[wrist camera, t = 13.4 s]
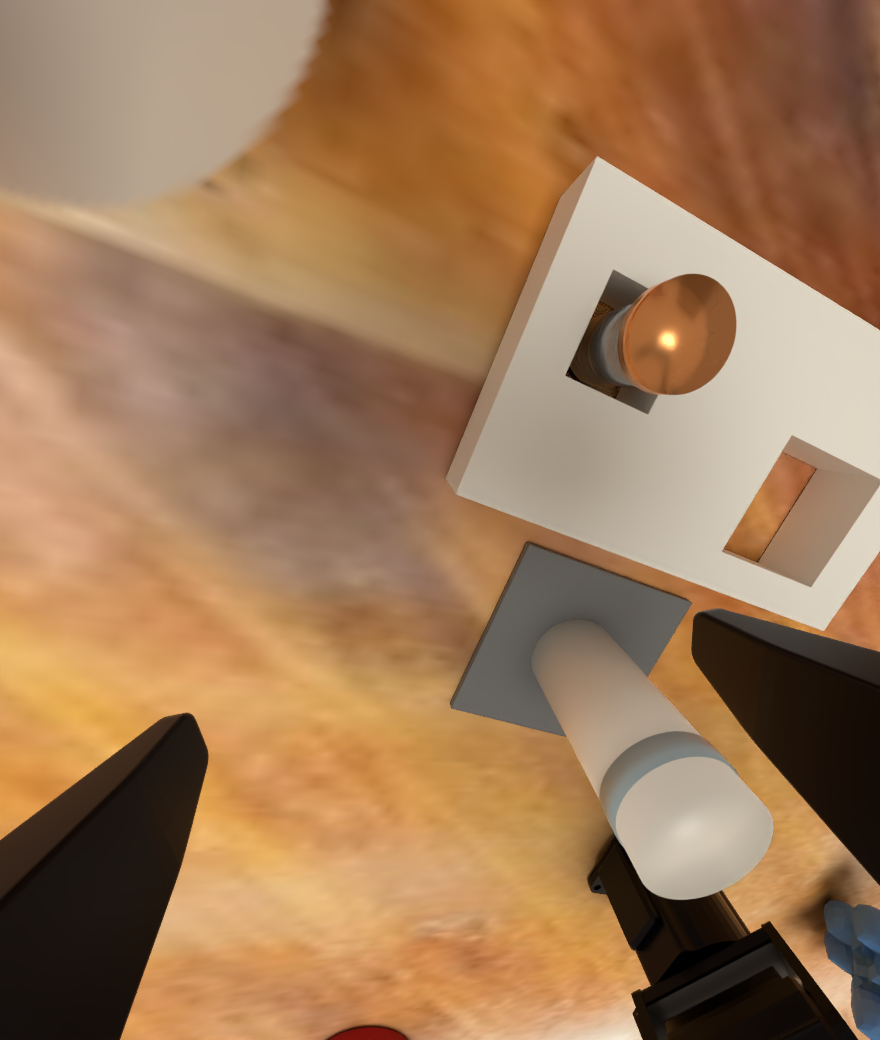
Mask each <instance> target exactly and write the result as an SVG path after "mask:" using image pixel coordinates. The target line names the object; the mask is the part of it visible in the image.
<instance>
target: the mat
mask: <svg viewBox="0 0 880 1040" xmlns="http://www.w3.org/2000/svg"><path fill="white" fill-rule="evenodd" d="M691 604H692V602H690V601H689V600H687V599H685V598H682V597H679V596H676V595H673V594H671V593H668V592H665V591H662V590H660V589H657V588H654V587H651V586H648V585H646V584H643V583H640V582H637V581H634V580H632V579H629V578H626V577H623V576H620V575H618V574H615V573H612V572H609V571H607V570H604V569H601V568H598V567H595V566H593V565H590V564H587V563H584V562H581V561H579V560H576V559H573V558H570V557H568V556H565V555H562V554H559V553H556V552H554V551H551V550H548V549H545V548H542V547H540V546H537V545H534V544H531V543H529V542H527V543H526V545H525V547H524V549H523V551H522V553H521V555H520V557H519V560H518V562H517V564H516V566H515V568H514V570H513V572H512V574H511V576H510V578H509V581H508V583H507V585H506V587H505V589H504V591H503V593H502V595H501V597H500V599H499V602H498V604H497V606H496V608H495V610H494V612H493V614H492V616H491V618H490V620H489V623H488V625H487V627H486V629H485V631H484V633H483V635H482V637H481V639H480V641H479V644H478V646H477V648H476V650H475V652H474V654H473V656H472V658H471V660H470V662H469V665H468V667H467V669H466V671H465V673H464V675H463V677H462V679H461V681H460V683H459V686H458V688H457V690H456V692H455V694H454V696H453V698H452V700H451V702H450V705H451V708H452V709H456V710H460V711H464V712H468V713H472V714H476V715H480V716H484V717H488V718H492V719H496V720H500V721H504V722H508V723H512V724H516V725H520V726H524V727H528V728H533V729H537V730H541V731H545V732H549V733H553V734H557V735H561V736H565V737H566V735H565V733H564V731H563V729H562V727H561V725H560V723H559V721H558V719H557V717H556V716H555V714H554V712H553V710H552V708H551V706H550V704H549V702H548V700H547V698H546V696H545V694H544V692H543V690H542V689H541V687H540V685H539V683H538V681H537V679H536V677H535V675H534V673H533V670H532V665H531V658H532V653H533V650H534V647H535V645H536V643H537V641H538V640H539V639H540V637H541V636H542V635H543V634H544V633H545V632H546V631H547V630H549V629H550V628H552V627H553V626H555V625H557V624H559V623H561V622H564V621H567V620H573V619H585V620H589V621H592V622H595V623H597V624H598V625H600V626H601V627H602V628H603V629H604V630H605V631H606V632H607V633H608V634H609V635H610V636H611V637H612V639H613V640H614V641H615V642H616V643H617V644H618V645H619V646H620V647H621V648H622V649H623V651H624V652H625V653H626V654H627V655H628V656H629V657H630V658H631V659H632V660H633V662H634V663H635V664H636V665H637V666H638V667H639V668H640V669H641V670H642V671H643V672H644V674H645V675H646V676H647V677H648V675H649V674H650V672H651V670H652V669H653V667H654V665H655V664H656V662H657V660H658V659H659V657H660V655H661V654H662V652H663V650H664V649H665V647H666V645H667V644H668V642H669V640H670V639H671V637H672V635H673V634H674V632H675V631H676V629H677V627H678V626H679V624H680V622H681V621H682V619H683V617H684V616H685V614H686V612H687V611H688V609H689V607H690V606H691Z"/></svg>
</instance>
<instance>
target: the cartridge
mask: <svg viewBox="0 0 880 1040" xmlns="http://www.w3.org/2000/svg"><path fill="white" fill-rule="evenodd" d="M531 665H532V670H533V673H534V675H535V677H536V679H537V681H538V683H539V685H540V687H541V689H542V690H543V692H544V694H545V696H546V698H547V700H548V702H549V704H550V706H551V708H552V710H553V712H554V714H555V716H556V717H557V719H558V721H559V723H560V725H561V727H562V729H563V731H564V733H565V735H566V737H567V739H568V741H569V742H570V744H571V746H572V748H573V750H574V752H575V754H576V756H577V758H578V760H579V762H580V764H581V766H582V768H583V769H584V771H585V773H586V775H587V777H588V779H589V781H590V783H591V785H592V787H593V789H594V791H595V793H596V794H597V796H598V798H599V800H600V805H601V808H602V810H603V812H604V814H605V816H606V818H607V820H608V822H609V824H610V826H611V828H612V830H613V832H614V834H615V836H616V837H617V839H618V841H619V843H620V844H621V845H622V846H623V847H624V848H625V850H626V852H627V854H628V856H629V858H630V860H631V862H632V864H633V866H634V868H635V870H636V872H637V873H638V875H639V877H640V879H641V881H642V883H643V884H644V885H645V887H646V888H647V889H648V890H650V891H651V892H652V893H654V894H656V895H658V896H661V897H664V898H668V899H675V900H688V899H696V898H700V897H705V896H708V895H711V894H714V893H716V892H719V891H721V890H723V889H725V888H727V887H729V886H731V885H733V884H734V883H736V882H737V881H739V880H740V879H742V878H743V877H744V876H745V875H747V874H748V873H749V872H750V871H751V870H752V869H753V868H754V867H755V866H756V865H757V864H758V863H759V861H760V860H761V859H762V858H763V856H764V855H765V853H766V851H767V849H768V847H769V845H770V843H771V840H772V836H773V827H774V825H773V819H772V816H771V813H770V812H769V810H768V808H767V807H766V806H765V805H764V804H763V803H762V802H761V801H760V799H759V798H758V797H757V796H756V795H755V794H754V793H753V792H752V791H751V790H750V789H749V787H748V786H747V785H746V784H745V783H744V782H743V781H742V780H741V779H740V777H739V775H738V773H737V772H736V770H735V769H734V768H733V767H732V766H731V765H730V764H729V762H728V761H727V760H726V759H725V758H724V757H723V756H722V755H721V754H720V753H719V752H718V751H717V749H716V748H715V747H714V746H713V745H712V744H711V743H710V742H709V741H708V740H706V739H705V738H703V737H702V736H701V735H700V734H699V733H698V732H697V730H696V729H695V728H694V727H693V726H692V725H691V724H690V723H689V722H688V721H687V720H686V718H685V717H684V716H683V715H682V714H681V713H680V712H679V711H678V710H677V709H676V708H675V706H674V705H673V704H672V703H671V702H670V701H669V700H668V699H667V698H666V697H665V695H664V694H663V693H662V692H661V691H660V690H659V689H658V688H657V687H656V686H655V685H654V683H653V682H652V681H651V680H650V679H649V678H648V677H647V676H646V675H645V674H644V672H643V671H642V670H641V669H640V668H639V667H638V666H637V665H636V664H635V663H634V662H633V660H632V659H631V658H630V657H629V656H628V655H627V654H626V653H625V652H624V651H623V649H622V648H621V647H620V646H619V645H618V644H617V643H616V642H615V641H614V640H613V639H612V637H611V636H610V635H609V634H608V633H607V632H606V631H605V630H604V629H603V628H602V627H601V626H600V625H598V624H597V623H595V622H592V621H589V620H585V619H573V620H567V621H564V622H561V623H559V624H557V625H555V626H553V627H552V628H550V629H549V630H547V631H546V632H545V633H544V634H543V635H542V636H541V637H540V639H539V640H538V641H537V643H536V645H535V647H534V650H533V653H532V658H531Z"/></svg>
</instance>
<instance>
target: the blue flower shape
mask: <svg viewBox="0 0 880 1040" xmlns="http://www.w3.org/2000/svg"><path fill="white" fill-rule="evenodd" d="M824 919H825V923H826V927H827V931H826V932H825V937H824V943H825V948H826V952H827V955H828V959H830V960H831V961H832V962H833V963H835V964H836V965H837V966H839V967H840V968H841V969H842V970H844V971H845V972H847V973H849V974H850V975H852V978H853V979H852V983H851V994H852V996H851V1008H852V1012H853V1017H854V1020H855V1023H856V1027H857V1029H859V1030H860V1031H861V1032H862V1033H864V1034H865V1035H866V1036H867V1037H868V1038H870V1039H871V1040H880V910H879V909H877V908H875V907H872V906H870V905H862V904H858V905H857V906H856V907H855V908H854V907H853V906H851V905H849V904H847V903H845V902H843V901H839V900H830V901H829V902H828V903H827V904H825V905H824Z"/></svg>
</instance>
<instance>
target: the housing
mask: <svg viewBox="0 0 880 1040" xmlns="http://www.w3.org/2000/svg"><path fill="white" fill-rule="evenodd" d="M685 274H702V275H705V276H708V277H710V278H713V279H714V280H716V281H717V282H719V283H720V284H721V285H722V286H723V287H724V288H725V289H726V291H727V292H728V294H729V295H730V297H731V299H732V302H733V304H734V308H735V312H736V321H737V325H736V336H735V341H734V345H733V348H732V350H731V353H730V355H729V357H728V359H727V361H726V363H725V364H724V366H723V367H722V369H721V370H720V371H719V373H718V374H717V375H716V376H715V377H714V378H713V379H712V380H711V381H709V382H708V383H707V384H706V385H704V386H703V387H701V388H699V389H697V390H695V391H693V392H690V393H686V394H682V395H656V394H650V393H646V392H644V391H641V390H640V389H638V388H636V387H635V386H621V388H620V390H619V392H618V394H617V396H616V398H615V399H614V398H611V397H609V396H607V395H605V394H603V393H601V392H599V391H597V390H594V389H592V388H590V387H588V386H586V385H584V384H582V383H579V382H577V381H575V380H573V379H571V378H569V377H567V376H565V375H566V372H567V370H568V368H569V366H570V364H571V361H572V359H573V357H574V355H575V353H576V350H577V348H578V346H579V344H580V342H581V339H582V337H583V335H584V333H585V330H586V328H587V326H588V324H589V322H590V319H591V317H592V315H593V313H594V311H595V308H596V306H597V304H598V302H599V301H601V302H602V303H604V304H606V305H608V306H610V307H612V308H614V309H618V308H621V307H624V306H627V305H630V304H632V303H633V302H634V301H635V300H636V299H637V298H638V297H639V296H640V295H641V294H642V293H643V292H645V291H646V290H647V289H649V288H650V287H652V286H654V285H656V284H659V283H661V282H664V281H667V280H669V279H672V278H674V277H677V276H680V275H685ZM781 452H784V453H786V454H788V455H790V456H792V457H794V458H796V459H798V460H801V461H803V462H805V463H807V464H809V465H811V466H813V467H815V468H817V470H816V471H815V473H814V474H813V476H812V478H811V479H810V481H809V482H808V484H807V485H806V487H805V489H804V490H803V492H802V493H801V495H800V497H799V498H798V500H797V501H796V503H795V504H794V506H793V508H792V509H791V511H790V512H789V514H788V516H787V517H786V519H785V520H784V522H783V523H782V525H781V527H780V528H779V530H778V531H777V533H776V535H775V536H774V538H773V539H772V541H771V543H770V544H769V546H768V547H767V549H766V550H765V552H764V554H763V555H762V557H761V558H760V560H759V562H755V561H753V560H750V559H748V558H745V557H743V556H740V555H738V554H735V553H733V552H730V551H728V550H725V549H723V548H724V547H725V545H726V543H727V542H728V540H729V538H730V537H731V535H732V533H733V532H734V530H735V528H736V527H737V525H738V523H739V522H740V520H741V519H742V517H743V515H744V514H745V512H746V510H747V509H748V507H749V505H750V504H751V502H752V500H753V499H754V497H755V495H756V494H757V492H758V490H759V489H760V487H761V485H762V484H763V482H764V480H765V479H766V477H767V475H768V474H769V472H770V470H771V469H772V467H773V465H774V464H775V462H776V460H777V459H778V457H779V455H780V454H781ZM446 480H447V482H448V484H449V485H450V487H451V488H452V490H453V491H454V493H455V494H456V495H459V496H461V497H464V498H467V499H469V500H472V501H475V502H477V503H480V504H483V505H485V506H488V507H491V508H494V509H496V510H499V511H502V512H504V513H507V514H510V515H512V516H515V517H518V518H520V519H523V520H526V521H529V522H531V523H534V524H537V525H539V526H542V527H545V528H547V529H550V530H553V531H555V532H558V533H561V534H564V535H566V536H569V537H572V538H574V539H577V540H580V541H582V542H585V543H588V544H590V545H593V546H596V547H599V548H601V549H604V550H607V551H609V552H612V553H615V554H617V555H620V556H623V557H625V558H628V559H631V560H634V561H636V562H639V563H642V564H644V565H647V566H650V567H652V568H655V569H658V570H661V571H663V572H666V573H669V574H671V575H674V576H677V577H679V578H682V579H685V580H687V581H690V582H693V583H696V584H698V585H701V586H704V587H706V588H709V589H712V590H714V591H717V592H720V593H722V594H725V595H728V596H731V597H733V598H736V599H739V600H741V601H744V602H747V603H749V604H752V605H755V606H757V607H760V608H763V609H766V610H768V611H771V612H774V613H776V614H779V615H782V616H784V617H787V618H790V619H792V620H795V621H798V622H801V623H803V624H806V625H809V626H811V627H814V628H817V629H819V630H822V631H824V630H825V628H826V627H827V625H828V624H829V623H830V621H831V620H832V618H833V617H834V615H835V614H836V613H837V611H838V610H839V608H840V607H841V605H842V604H843V603H844V601H845V600H846V598H847V597H848V595H849V594H850V593H851V591H852V590H853V588H854V587H855V586H856V584H857V583H858V581H859V580H860V578H861V577H862V576H863V574H864V573H865V571H866V570H867V568H868V567H869V566H870V564H871V563H872V561H873V560H874V559H875V557H876V556H877V554H878V553H879V551H880V330H879V329H877V328H875V327H874V326H872V325H870V324H869V323H867V322H866V321H864V320H862V319H861V318H859V317H857V316H856V315H854V314H853V313H851V312H849V311H848V310H846V309H844V308H843V307H841V306H840V305H838V304H836V303H835V302H833V301H832V300H830V299H828V298H827V297H825V296H823V295H822V294H820V293H819V292H817V291H815V290H814V289H812V288H810V287H809V286H807V285H806V284H804V283H802V282H801V281H799V280H797V279H796V278H794V277H793V276H791V275H789V274H788V273H786V272H784V271H783V270H781V269H780V268H778V267H776V266H775V265H773V264H771V263H770V262H768V261H767V260H765V259H763V258H762V257H760V256H758V255H757V254H755V253H754V252H752V251H750V250H749V249H747V248H745V247H744V246H742V245H741V244H739V243H737V242H736V241H734V240H732V239H731V238H729V237H728V236H726V235H724V234H723V233H721V232H720V231H718V230H716V229H715V228H713V227H711V226H710V225H708V224H707V223H705V222H703V221H702V220H700V219H698V218H697V217H695V216H694V215H692V214H690V213H689V212H687V211H685V210H684V209H682V208H681V207H679V206H677V205H676V204H674V203H672V202H671V201H669V200H668V199H666V198H664V197H663V196H661V195H659V194H658V193H656V192H655V191H653V190H651V189H650V188H648V187H646V186H645V185H643V184H642V183H640V182H638V181H637V180H635V179H633V178H632V177H630V176H629V175H627V174H625V173H624V172H622V171H620V170H619V169H617V168H616V167H614V166H612V165H611V164H609V163H608V162H606V161H604V160H603V159H601V158H599V157H598V156H597V157H596V158H595V159H594V160H593V161H592V162H591V164H590V165H589V166H588V167H587V168H586V169H585V170H584V171H583V172H582V174H581V175H580V176H579V177H578V178H577V179H576V180H575V181H574V182H573V183H572V185H571V186H570V187H569V188H568V189H567V190H566V191H565V192H564V193H563V195H562V196H561V197H560V199H559V202H558V204H557V207H556V209H555V212H554V214H553V217H552V219H551V221H550V224H549V226H548V229H547V231H546V234H545V236H544V239H543V241H542V244H541V246H540V248H539V251H538V253H537V256H536V258H535V261H534V263H533V266H532V268H531V270H530V273H529V275H528V278H527V280H526V283H525V285H524V288H523V290H522V292H521V295H520V297H519V300H518V302H517V305H516V307H515V310H514V312H513V315H512V317H511V319H510V322H509V324H508V327H507V329H506V332H505V334H504V337H503V339H502V341H501V344H500V346H499V349H498V351H497V354H496V356H495V359H494V361H493V363H492V366H491V368H490V371H489V373H488V376H487V378H486V381H485V383H484V386H483V388H482V390H481V393H480V395H479V398H478V400H477V403H476V405H475V408H474V410H473V412H472V415H471V417H470V420H469V422H468V425H467V427H466V430H465V432H464V435H463V437H462V439H461V442H460V444H459V447H458V449H457V452H456V454H455V457H454V459H453V461H452V464H451V466H450V469H449V471H448V474H447V476H446Z"/></svg>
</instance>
